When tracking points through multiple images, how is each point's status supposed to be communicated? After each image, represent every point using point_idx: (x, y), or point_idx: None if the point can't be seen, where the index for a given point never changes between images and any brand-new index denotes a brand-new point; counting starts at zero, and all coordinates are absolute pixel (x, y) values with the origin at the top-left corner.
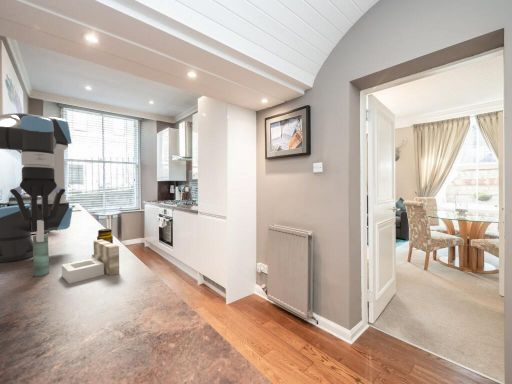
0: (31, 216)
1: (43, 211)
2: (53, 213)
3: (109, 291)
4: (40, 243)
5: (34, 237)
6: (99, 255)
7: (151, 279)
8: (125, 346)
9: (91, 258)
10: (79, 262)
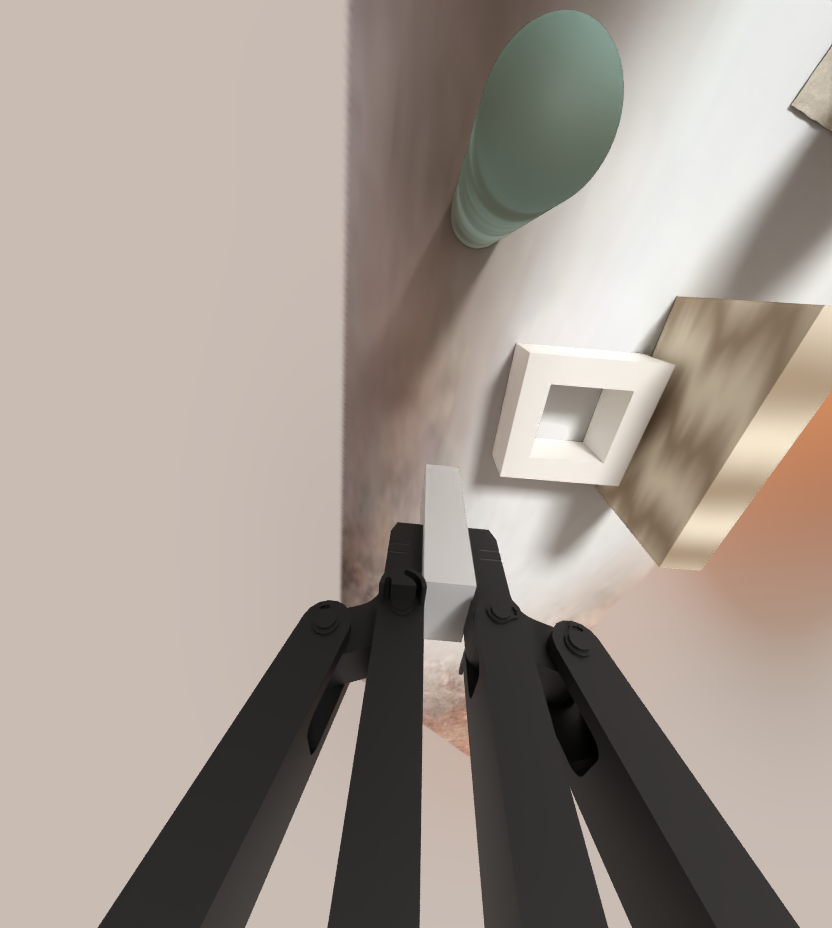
0: (377, 644)
1: (474, 763)
2: (562, 726)
3: (517, 578)
4: (504, 221)
5: (481, 165)
6: (683, 406)
7: (616, 591)
8: (436, 695)
9: (814, 71)
10: (590, 385)
